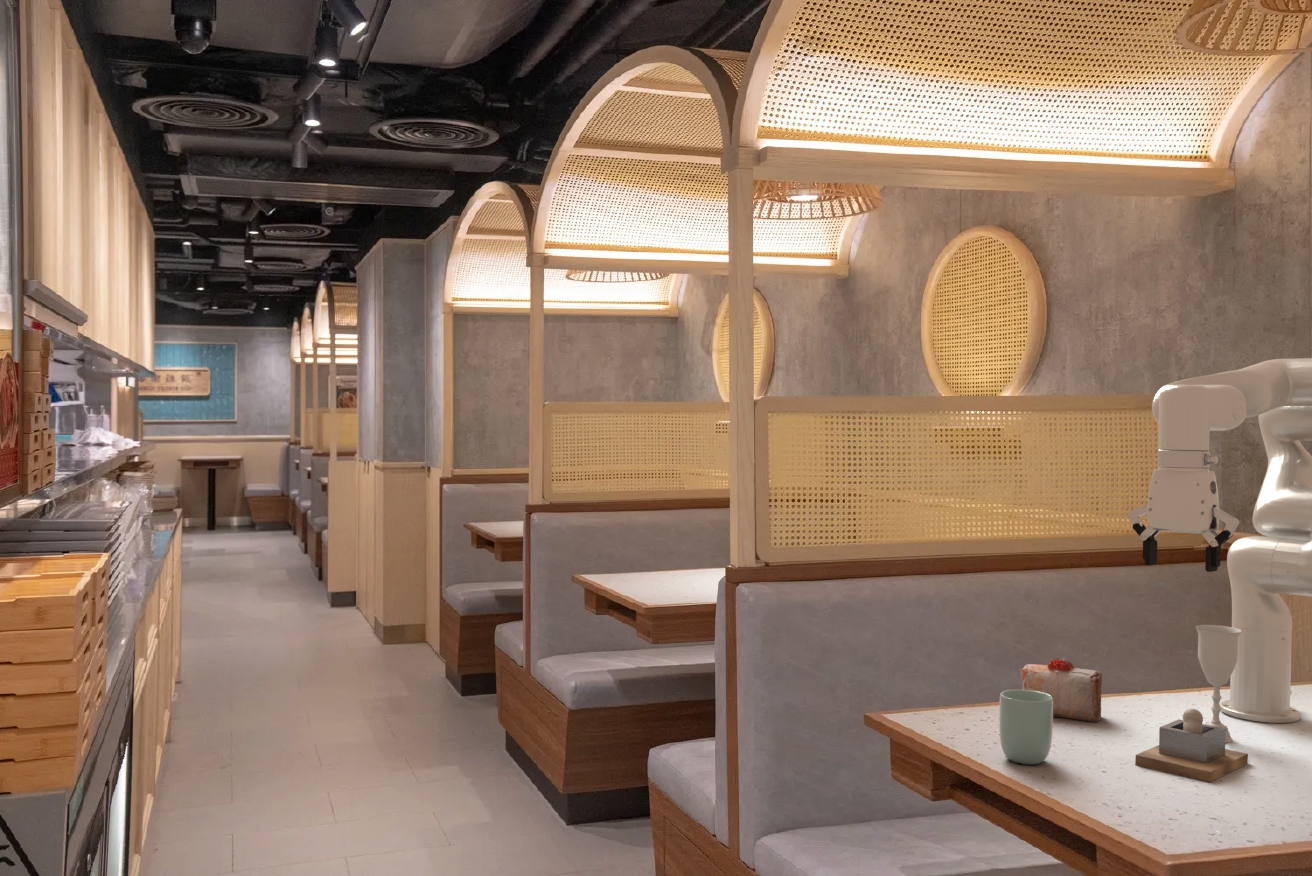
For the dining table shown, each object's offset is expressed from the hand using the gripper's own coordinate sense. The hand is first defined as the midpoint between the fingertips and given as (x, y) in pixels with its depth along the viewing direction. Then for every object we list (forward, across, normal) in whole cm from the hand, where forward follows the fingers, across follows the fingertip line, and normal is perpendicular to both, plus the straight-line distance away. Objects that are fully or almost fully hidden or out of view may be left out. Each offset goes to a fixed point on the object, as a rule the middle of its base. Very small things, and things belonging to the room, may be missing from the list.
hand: (1180, 567), depth 188 cm
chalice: (+28, -3, -8) cm, 30 cm away
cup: (+28, +11, +28) cm, 41 cm away
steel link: (+27, -6, +10) cm, 29 cm away
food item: (+29, +22, -3) cm, 36 cm away
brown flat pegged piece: (+28, -6, +10) cm, 31 cm away
